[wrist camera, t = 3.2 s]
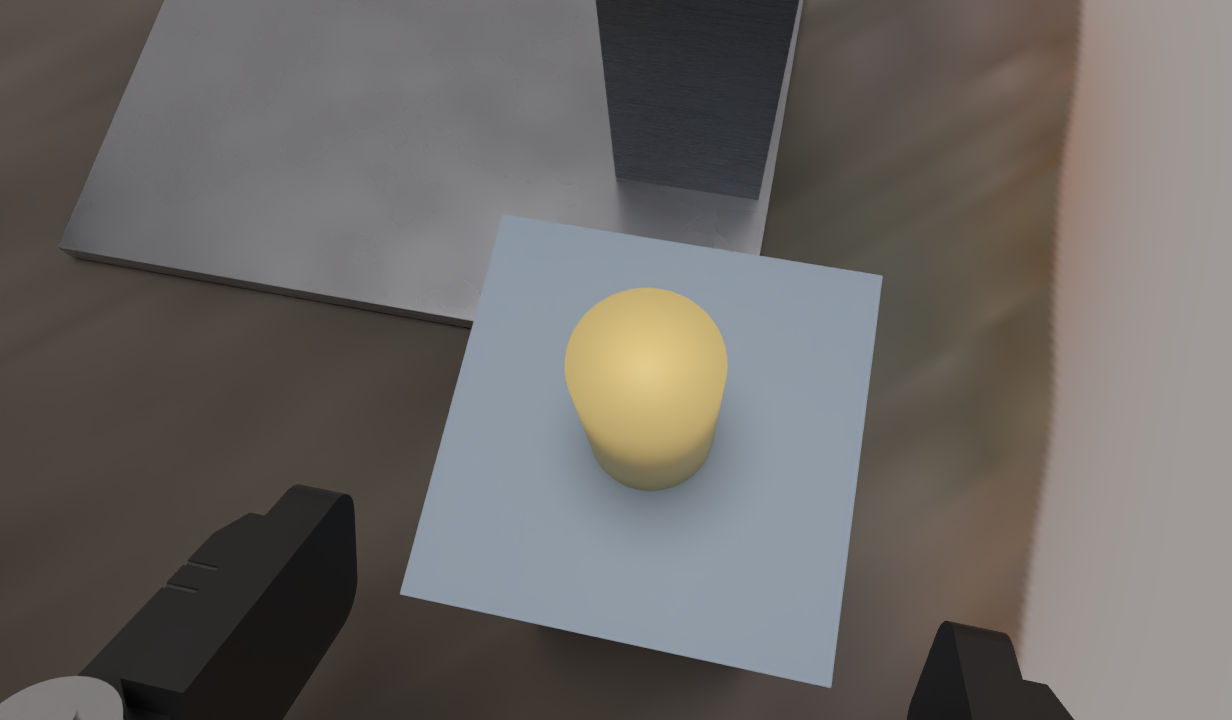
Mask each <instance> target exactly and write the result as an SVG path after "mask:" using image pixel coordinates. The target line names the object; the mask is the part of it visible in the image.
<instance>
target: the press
mask: <svg viewBox="0 0 1232 720" xmlns="http://www.w3.org/2000/svg"><path fill="white" fill-rule="evenodd" d="M802 6H803V0H164V2H163V5H162V7H161V9H160V11H159V14H158V16H157V18H156V21H155V23H154V25H153V28H152V30H151V32H150V35H149V37H148V39H147V42H146V44H145V46H144V49H143V51H142V53H141V56H140V58H139V60H138V62H137V65H136V67H135V69H134V72H133V74H132V76H131V79H130V81H129V83H128V86H127V88H126V90H125V93H124V95H123V97H122V100H121V102H120V104H119V106H118V109H117V111H116V113H115V116H114V118H113V120H112V123H111V125H110V127H109V130H108V132H107V134H106V137H105V139H104V141H103V144H102V146H101V148H100V151H99V153H98V155H97V157H96V160H95V162H94V164H93V167H92V169H91V171H90V174H89V176H88V178H87V181H86V183H85V185H84V188H83V190H82V192H81V195H80V197H79V199H78V201H77V204H76V206H75V208H74V211H73V213H72V215H71V218H70V220H69V222H68V225H67V227H66V229H65V232H64V234H63V236H62V239H61V241H60V243H59V246H58V248H60V249H61V250H63V251H64V252H66V253H67V254H69V255H70V256H72V257H73V258H79V259H85V260H90V261H96V262H101V263H107V264H113V265H118V266H124V267H130V268H135V269H141V270H146V271H152V272H158V273H163V274H169V275H174V276H180V277H186V278H191V279H197V280H202V281H208V282H214V283H219V284H225V285H230V286H236V287H242V288H247V289H253V290H258V291H264V292H270V293H275V294H281V295H286V296H292V297H298V298H303V299H309V300H314V301H320V302H326V303H331V304H337V305H342V306H348V307H354V308H359V309H365V310H370V311H376V312H382V313H387V314H393V315H398V316H404V317H410V318H415V319H421V320H426V321H432V322H438V323H443V324H449V325H454V326H460V327H466V328H471V329H472V326H473V322H474V318H475V314H476V311H477V307H478V303H479V300H480V296H481V292H482V289H483V285H484V281H485V277H486V274H487V270H488V266H489V263H490V259H491V255H492V252H493V248H494V244H495V241H496V237H497V233H498V229H499V226H500V222H501V218H502V215H503V214H505V215H511V216H517V217H523V218H529V219H536V220H542V221H548V222H554V223H560V224H566V225H573V226H579V227H585V228H591V229H597V230H603V231H610V232H616V233H622V234H628V235H634V236H641V237H647V238H653V239H659V240H665V241H671V242H678V243H684V244H690V245H696V246H702V247H709V248H715V249H721V250H727V251H733V252H739V253H746V254H752V255H758V256H760V251H761V245H762V239H763V234H764V228H765V222H766V216H767V210H768V204H769V198H770V193H771V187H772V181H773V175H774V169H775V163H776V158H777V152H778V146H779V140H780V134H781V128H782V123H783V117H784V111H785V105H786V99H787V93H788V87H789V82H790V76H791V70H792V64H793V58H794V52H795V47H796V41H797V35H798V29H799V23H800V17H801V12H802Z"/></svg>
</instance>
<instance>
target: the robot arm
mask: <svg viewBox="0 0 1232 720" xmlns="http://www.w3.org/2000/svg"><path fill="white" fill-rule="evenodd" d="M356 588H357V559H356V537H355V514H354V503H353V500H352V498H351V497H350V495H347V494H343V493H338V492H333V491H328V490H323V489H319V488H314V487H309V486H304V485H294V486H292V487H291V488H290V489H289V490H288V491H287V492H286V493H285V494H284V495H283V496H282V497H281V498H280V500H279V501H278V502H277V503H276V504H275V505H274V506H273V507H272V508H271V510H270V511H269V512H268V513H267V514H266V515H265V516H263V515H258V514H254V513H248V514H247V515H245V516H243V517H241V518H240V519H238V520H236V521H234V522H232V523H231V524H229V525H227V526H225V527H223V528H222V529H220V530H218V531H216V532H215V533H213V534H212V535H211V536H210V537H209V538H208V540H207V541H206V542H205V543H204V544H203V545H202V546H201V547H200V548H199V549H198V550H197V551H196V552H195V553H194V554H193V555H192V556H191V557H190V558H189V559H188V564H187V565H186V566H185V565H183V566H182V567H181V568H180V569H179V570H178V571H177V572H176V573H175V574H174V575H173V576H172V577H171V578H170V579H169V580H168V581H167V586H166V587H165V588H161V589H160V590H159V591H158V592H157V593H156V594H155V595H154V596H153V597H152V598H151V599H150V600H149V601H148V602H147V604H146V605H145V606H144V607H143V608H142V609H141V610H140V611H139V612H138V613H137V614H136V615H135V616H134V617H133V618H132V619H131V620H130V621H129V622H128V623H127V624H126V626H125V627H124V628H123V629H122V630H121V631H120V632H119V633H118V634H117V635H116V636H115V637H114V638H113V639H112V640H111V641H110V642H109V643H108V644H107V645H106V647H105V648H104V649H103V650H102V651H101V652H100V653H99V654H98V655H97V656H96V657H95V658H94V659H93V660H92V661H91V662H90V663H89V664H88V665H87V666H86V668H85V669H84V670H83V671H82V672H80V673H79V674H78V675H77V676H70V677H61V678H56V679H51V680H48V681H44V682H41V683H38V684H35V685H33V686H31V687H28V688H26V689H24V690H22V691H20V692H18V693H16V694H14V695H13V696H11V697H10V698H8V699H7V700H5V701H3V702H2V703H1V704H0V720H283V718H284V716H285V715H286V713H287V712H288V710H289V709H290V707H291V706H292V704H293V703H294V701H295V699H296V698H297V696H298V695H299V693H300V692H301V690H302V689H303V687H304V686H305V684H306V682H307V681H308V679H309V678H310V676H311V675H312V673H313V672H314V670H315V668H316V667H317V665H318V664H319V662H320V661H321V659H322V658H323V656H324V655H325V653H326V651H327V650H328V648H329V647H330V645H331V644H332V642H333V641H334V639H335V638H336V636H337V634H338V633H339V631H340V630H341V628H342V627H343V625H344V623H345V622H346V620H347V618H348V615H349V613H350V611H351V608H352V605H353V601H354V598H355V594H356ZM907 720H1074V719H1073V718H1072V716H1071V715H1070V714H1069V712H1068V711H1067V710H1066V709H1065V707H1064V706H1063V705H1062V704H1061V702H1060V701H1059V699H1058V698H1057V697H1056V696H1055V694H1054V693H1053V692H1052V690H1051V689H1050V688H1049V686H1048V685H1046V684H1041V683H1037V682H1032V681H1027V680H1023V679H1022V675H1021V672H1020V668H1019V665H1018V662H1017V658H1016V655H1015V651H1014V648H1013V645H1012V642H1011V639H1010V638H1009V636H1008V635H1007V634H1006V633H1003V632H998V631H993V630H988V629H983V628H979V627H974V626H969V625H964V624H959V623H955V622H950V621H944V622H943V623H942V624H941V625H940V627H939V629H938V631H937V634H936V636H935V639H934V641H933V644H932V647H931V649H930V652H929V655H928V657H927V660H926V663H925V665H924V668H923V671H922V673H921V676H920V679H919V681H918V684H917V687H916V689H915V692H914V695H913V697H912V700H911V703H910V707H909V711H908V716H907Z"/></svg>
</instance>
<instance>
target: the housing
mask: <svg viewBox="0 0 1232 720" xmlns="http://www.w3.org/2000/svg"><path fill="white" fill-rule="evenodd" d="M882 277H883V276H881V275H875V274H869V273H863V272H857V271H851V270H844V269H838V268H832V267H826V266H820V265H814V264H807V263H801V262H795V261H789V260H783V259H776V258H770V257H764V256H758V255H752V254H746V253H739V252H733V251H727V250H721V249H715V248H709V247H702V246H696V245H690V244H684V243H678V242H671V241H665V240H659V239H653V238H647V237H641V236H634V235H628V234H622V233H616V232H610V231H603V230H597V229H591V228H585V227H579V226H573V225H566V224H560V223H554V222H548V221H542V220H536V219H529V218H523V217H517V216H511V215H505V214H503V215H502V218H501V222H500V226H499V229H498V233H497V237H496V241H495V244H494V248H493V252H492V255H491V259H490V263H489V266H488V270H487V274H486V277H485V281H484V285H483V289H482V292H481V296H480V300H479V303H478V307H477V311H476V314H475V318H474V322H473V326H472V329H471V333H470V337H469V340H468V344H467V348H466V351H465V355H464V359H463V362H462V366H461V370H460V374H459V377H458V381H457V385H456V388H455V392H454V396H453V399H452V403H451V407H450V411H449V414H448V418H447V422H446V425H445V429H444V433H443V436H442V440H441V444H440V447H439V451H438V455H437V459H436V462H435V466H434V470H433V473H432V477H431V481H430V484H429V488H428V492H427V496H426V499H425V503H424V507H423V510H422V514H421V518H420V521H419V525H418V529H417V532H416V536H415V540H414V544H413V547H412V551H411V555H410V558H409V562H408V566H407V569H406V573H405V577H404V581H403V584H402V588H401V592H400V594H401V595H406V596H410V597H415V598H420V599H424V600H429V601H433V602H438V603H443V604H447V605H452V606H456V607H461V608H466V609H470V610H475V611H479V612H484V613H489V614H493V615H498V616H502V617H507V618H512V619H516V620H521V621H525V622H530V623H535V624H539V625H544V626H548V627H553V628H557V629H562V630H567V631H571V632H576V633H580V634H585V635H590V636H594V637H599V638H603V639H608V640H613V641H617V642H622V643H626V644H631V645H636V646H640V647H645V648H649V649H654V650H659V651H663V652H668V653H672V654H677V655H682V656H686V657H691V658H695V659H700V660H705V661H709V662H714V663H718V664H723V665H728V666H732V667H737V668H741V669H746V670H751V671H755V672H760V673H764V674H769V675H773V676H778V677H783V678H787V679H792V680H796V681H801V682H806V683H810V684H815V685H819V686H824V687H829V688H831V684H832V676H833V668H834V660H835V652H836V644H837V636H838V628H839V620H840V612H841V604H842V596H843V588H844V580H845V572H846V564H847V556H848V548H849V540H850V532H851V524H852V516H853V508H854V501H855V493H856V485H857V477H858V469H859V461H860V453H861V445H862V437H863V429H864V421H865V413H866V405H867V397H868V389H869V381H870V373H871V365H872V357H873V349H874V341H875V333H876V325H877V317H878V309H879V301H880V293H881V285H882Z"/></svg>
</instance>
